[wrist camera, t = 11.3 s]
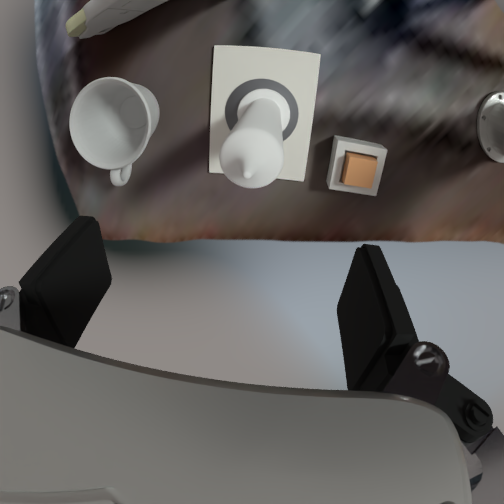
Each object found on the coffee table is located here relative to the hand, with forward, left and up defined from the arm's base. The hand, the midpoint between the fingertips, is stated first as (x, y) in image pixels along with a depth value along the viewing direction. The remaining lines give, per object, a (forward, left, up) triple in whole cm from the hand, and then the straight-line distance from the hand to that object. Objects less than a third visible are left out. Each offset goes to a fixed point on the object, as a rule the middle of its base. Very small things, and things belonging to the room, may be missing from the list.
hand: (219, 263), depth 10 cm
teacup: (+18, +2, -34) cm, 39 cm away
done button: (-14, +5, -31) cm, 35 cm away
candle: (0, 0, -34) cm, 34 cm away
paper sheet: (0, 0, -34) cm, 34 cm away
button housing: (-14, +6, -34) cm, 37 cm away
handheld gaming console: (+19, -16, -34) cm, 42 cm away
